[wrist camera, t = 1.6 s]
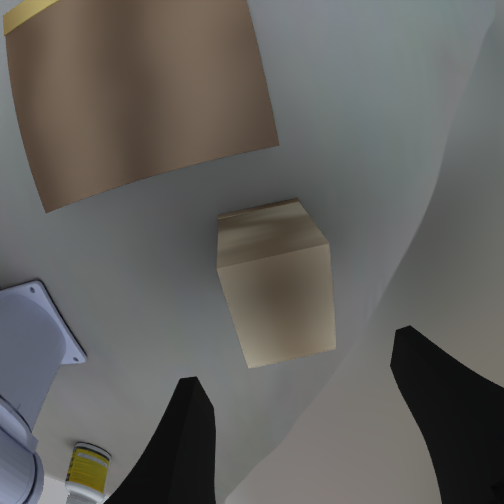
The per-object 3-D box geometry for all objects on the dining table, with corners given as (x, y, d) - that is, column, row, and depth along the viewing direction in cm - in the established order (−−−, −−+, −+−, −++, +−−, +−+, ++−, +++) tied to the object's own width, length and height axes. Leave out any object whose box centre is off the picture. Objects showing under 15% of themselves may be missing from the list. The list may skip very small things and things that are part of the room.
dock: (61, 202, 16) (44, 214, 14) (22, 20, 10) (3, 15, 8) (272, 141, 15) (279, 145, 13) (224, -59, 9) (224, -77, 8)
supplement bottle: (71, 437, 28) (56, 498, 20) (109, 448, 29) (98, 512, 21) (78, 452, 31) (66, 507, 22) (113, 462, 32) (104, 519, 23)
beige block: (241, 300, 20) (248, 369, 15) (218, 215, 17) (214, 267, 12) (309, 285, 20) (336, 348, 14) (297, 197, 17) (330, 242, 12)
